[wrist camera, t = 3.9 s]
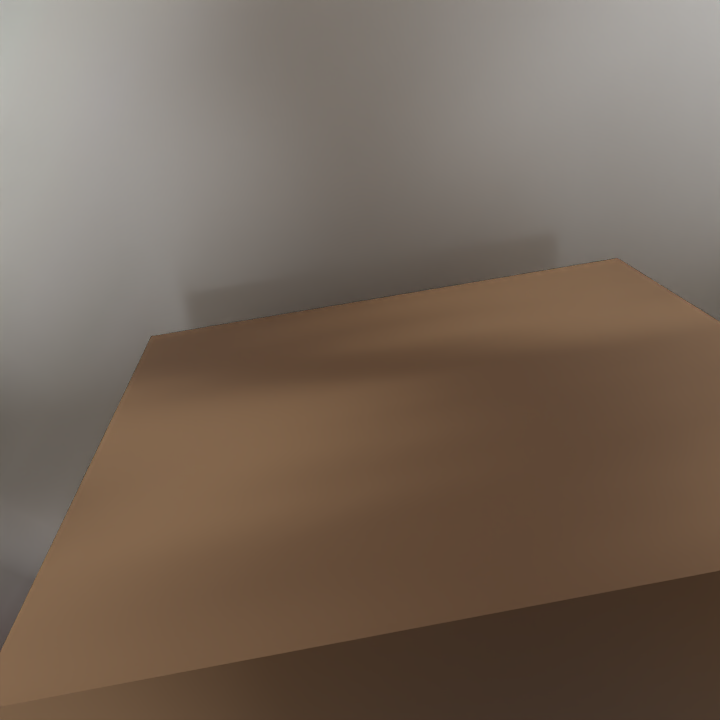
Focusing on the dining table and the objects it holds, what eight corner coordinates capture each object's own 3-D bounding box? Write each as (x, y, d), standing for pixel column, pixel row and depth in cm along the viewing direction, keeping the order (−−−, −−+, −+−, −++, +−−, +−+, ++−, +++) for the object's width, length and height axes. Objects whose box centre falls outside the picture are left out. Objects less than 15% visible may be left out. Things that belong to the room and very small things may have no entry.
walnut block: (256, 637, 11) (236, 1034, 6) (151, 336, 8) (-28, 711, 3) (587, 575, 11) (784, 918, 7) (617, 258, 8) (1027, 512, 4)
